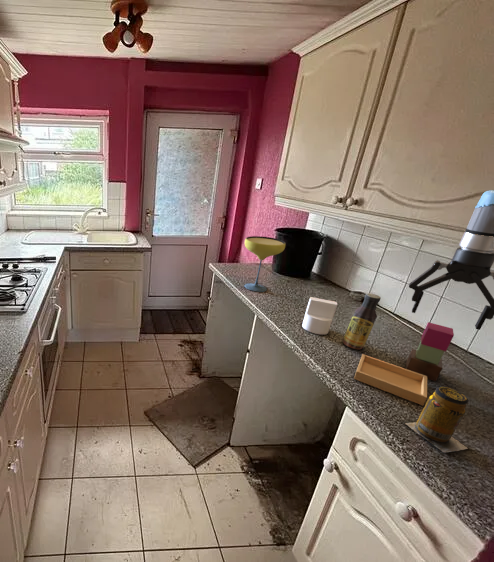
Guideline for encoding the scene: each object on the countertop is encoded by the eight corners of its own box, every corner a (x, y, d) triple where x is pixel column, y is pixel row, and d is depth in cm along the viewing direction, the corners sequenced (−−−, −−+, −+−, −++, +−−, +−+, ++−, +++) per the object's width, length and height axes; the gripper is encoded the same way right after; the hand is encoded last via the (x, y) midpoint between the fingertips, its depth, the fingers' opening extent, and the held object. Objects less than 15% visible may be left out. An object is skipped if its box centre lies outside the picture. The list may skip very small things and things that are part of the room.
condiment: (427, 420, 79) (447, 382, 75) (468, 449, 71) (492, 408, 67) (404, 424, 78) (423, 385, 73) (443, 453, 70) (466, 412, 65)
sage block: (437, 358, 97) (444, 344, 95) (437, 364, 93) (444, 350, 91) (416, 351, 100) (422, 337, 98) (415, 357, 96) (422, 344, 94)
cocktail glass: (251, 279, 171) (260, 234, 162) (282, 290, 157) (293, 242, 148) (229, 285, 162) (237, 238, 153) (260, 297, 148) (270, 246, 139)
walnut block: (435, 371, 98) (441, 358, 97) (435, 381, 94) (442, 367, 92) (406, 361, 103) (412, 348, 101) (405, 371, 98) (411, 357, 96)
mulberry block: (445, 344, 95) (452, 328, 93) (446, 351, 91) (454, 335, 89) (421, 337, 98) (428, 322, 96) (420, 344, 94) (428, 328, 92)
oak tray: (423, 383, 92) (427, 376, 91) (423, 405, 84) (427, 397, 83) (359, 361, 102) (362, 353, 101) (353, 378, 94) (356, 371, 93)
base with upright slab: (327, 326, 124) (335, 299, 119) (329, 336, 116) (339, 308, 112) (301, 320, 127) (309, 294, 123) (302, 330, 120) (310, 302, 116)
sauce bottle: (339, 344, 111) (357, 294, 104) (345, 338, 115) (362, 289, 108) (361, 353, 107) (381, 300, 99) (366, 346, 111) (385, 295, 103)
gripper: (547, 257, 78) (505, 330, 86) (416, 238, 94) (391, 301, 102) (555, 263, 73) (510, 340, 81) (415, 242, 89) (389, 309, 97)
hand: (443, 319), depth 92 cm, fingers open, 13 cm apart
